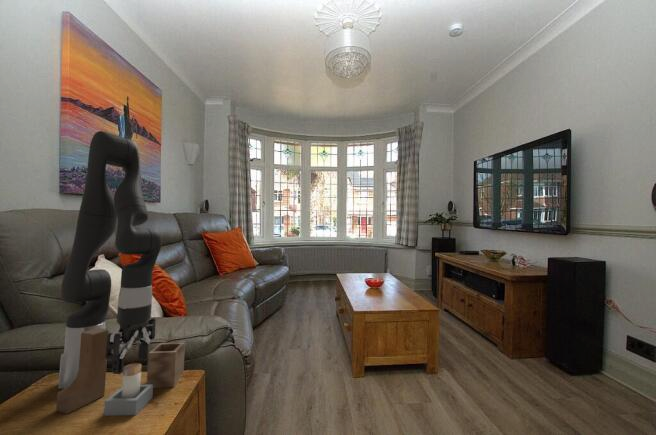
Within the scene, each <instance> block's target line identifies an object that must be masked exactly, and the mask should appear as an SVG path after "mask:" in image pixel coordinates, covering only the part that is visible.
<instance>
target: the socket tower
mask: <svg viewBox="0 0 656 435" xmlns="http://www.w3.org/2000/svg"><path fill="white" fill-rule="evenodd" d="M185 349H186V342H160V343H159V344H157V345H156V346H155V347H154V348H152V349H151V350H150V351H148V356H147V370H146V371H147V372H146V373H147V374H146V384H153V389H158V388H162V387H163V388H174V387H175V386H176V385H177V384H178V382H179V381H180V380H179V378H180V377H181V375H182V374H183V373H184V372H185V352H186V350H185ZM184 374H185V373H184ZM184 374H183V375H184ZM181 378H182V377H181ZM181 378H180V379H181ZM178 380H179V381H178ZM177 381H178V382H177ZM176 383H177V384H176ZM175 384H176V385H175ZM173 386H174V387H173Z"/></svg>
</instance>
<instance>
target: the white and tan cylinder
mask: <svg viewBox="0 0 656 435" xmlns="http://www.w3.org/2000/svg"><path fill="white" fill-rule="evenodd" d="M141 380H142V363H140V362H138V363H137V362H136V363H129V364H127V365H124V368H123V372H122V383H121V387H122V395H121V398H136V397H137V396H138V395H139V394H140V385H141Z"/></svg>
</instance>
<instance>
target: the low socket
mask: <svg viewBox="0 0 656 435" xmlns="http://www.w3.org/2000/svg"><path fill="white" fill-rule="evenodd" d="M153 392H154V388H153V384H147V383H145V384H140V394H139V395H138V396H137V397H136V398H121V395H122V386H121V387H120V388H118V390H116V391H115V392H114V393H113V394H112V395H110V396H109V397H108V398H106V399H105V400H104V404H103V405H104V407H103V408H104V409H103V416H137V414H138V413H139V412H140V411H141V410H142V409H143V408H144V407H145V406H146V405H148V403H149V402H150V401H151V400H152V399H153V395H154V393H153Z"/></svg>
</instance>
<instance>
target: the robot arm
mask: <svg viewBox="0 0 656 435" xmlns="http://www.w3.org/2000/svg"><path fill="white" fill-rule="evenodd" d="M107 165H108V166H112V167H118V168H122V169H123V171H124V176H123V179H122V181H121V182H120V183H119V185H118V187H117V188H116V190H115V193H114V195H113V192H112V191H111V189H110V187H109V185H108V181H107V175H106V171H107V169H106V168H107ZM141 174H142V172H141V160H140V152H139V148H138V145H137V143H136V142H135V141H134V140H133V139H129V138H127V137H123V136H121V135H118V134H113V133H109V132H108V131H103V130H98V131H96V132H95V133H94V134H93V135H92V138H91V140H90V144H89V151H88V158H87V168H86V177H85V178H86V179H85V183H84V184H85V185H84V189H83V190H84V191H83V194H82V198H81V202H80V206H79V207H80V208H79V211H78V215H77V221H76V229H75V234H74V240H73V244H72V249H71V252H70V255H69V258H68V262H67V264H66V268H65V271H64V274H63V278H62V282H61V287H60V295H61V299H62V301H63V302H65V303H66V304H71V305H72V304H79V303H83V302H86V303H85V304H84V305H83V307H81V308H80V309H78V310H76V311H75V312H72V313H71V314H69V315H68V316H67V318H66V320H65V321H66V322H65V323H66V325H65V336H64V338H65V339H64V351H63V353H62V354H61V355H60V363H59V373H58V374H59V375H58V388H57V389H59V390H63V389H65V388H67V387H68V386H70V385H71V383H72V382H73V381H74V380H75V379H76V376H77V373H78V370H79V358H80V343H81V333H82V332H85V331H89V330H92V329H96V328H101V329H106V324H107V322H106V321H107V318H106V317H107V315H108V312H109V309H110V298H111V292H112V277H111V274H110V273H109V271H107V270H106V269H103V268H99V269H89V267H90V266H89V265H90V264H91V261H92V259H93V257H94V256H95V254H96V253H97V252H98V251H99V250H100V249H101V248H102V247H103V246H104V245H105V244H106V243H107V241H108V240H109V239H110V238H111V237H112V236H113V234H114V232H116V234H115V240H114V245H115V248H116V250H117V251H118V252H119V253H120V254H122V255H126V256H131V255H132V256H133V255H140V257H139V259H138V260H137V261H135V262H131V263H130V262H129V263H127V264H124V266H123V267H122V268H121V276H120V287H119V293H118V298H117V299H118V300H117V310H116V311H117V314H116V323H117V325H119V329H118V331H117V332H115V333H114V332H109V334H108V337H107V346H106V354H105V359H107V360H112V367H111V371H112V374H114V375H121V374H123V368H124V367H125V355H126V353H127V351H128V350H130V348H131V347H132V345H133V344H135V343H136V342H138V343H139V345H138V356H137V358H138V359H139V360H140V359H141V360H145V359H146V358H147V359H148V353H149V345H150V343H151V341H152V340H154V339H155V338H156V318H155V317H152V306H153V304H152V303H153V278H154V277H153V273H154V268H155V265H156V263H157V260H158V257H159V254H160V251H161V249H162V247H163V246H162V245H163V237H162V234H161V232H160V231H159V230H157V229H156V228H149V227H148V228H141V227H138V226H140V225H143V224H145V223H146V222H147V221H148V220H149V212H148V209H147V206H146V202H145V198H144V195H143V190H142V176H141ZM136 226H137V227H136ZM116 228H117V229H116ZM88 269H89V270H88ZM149 333H150V334H149ZM122 343H123V344H122ZM112 351H113V352H112Z"/></svg>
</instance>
